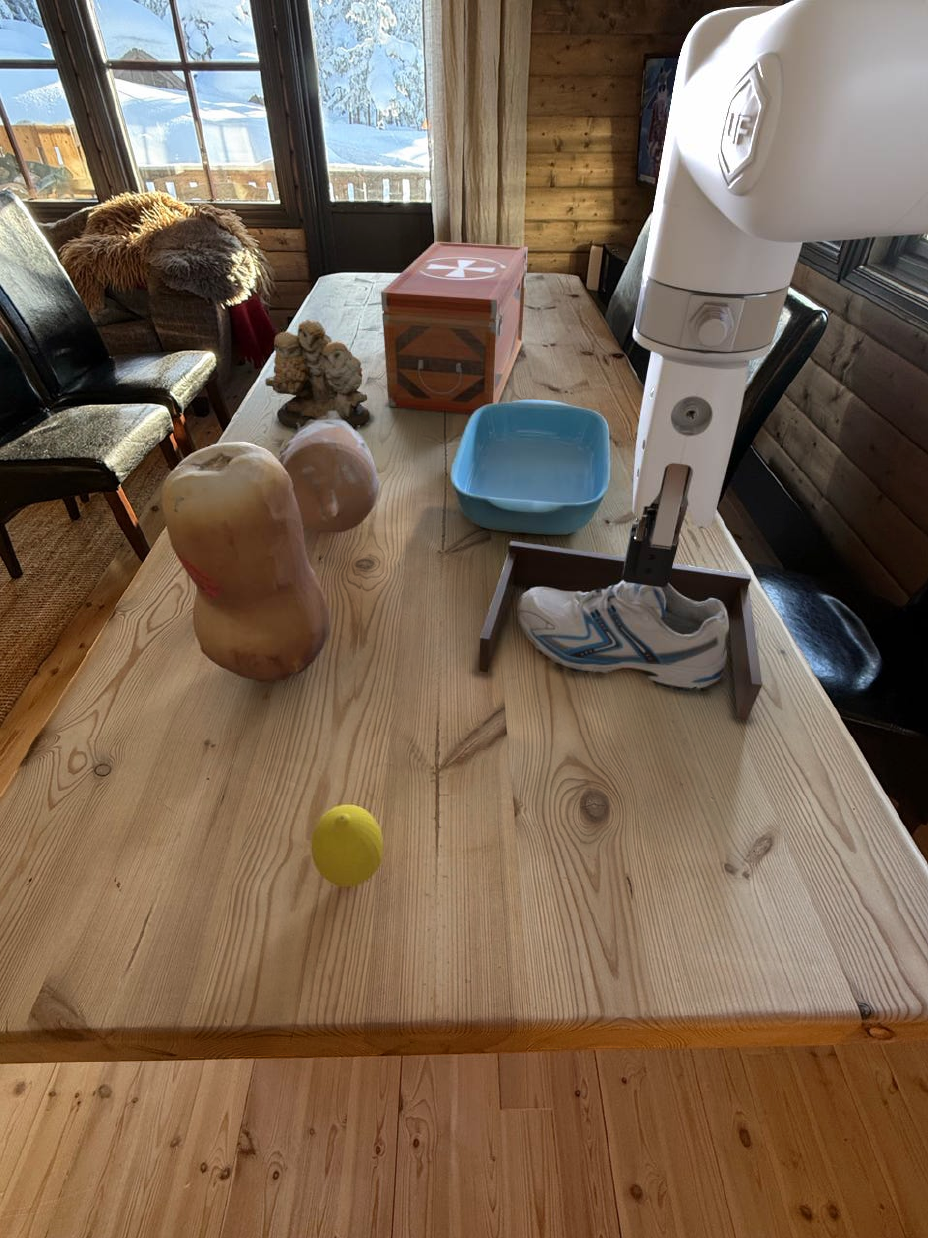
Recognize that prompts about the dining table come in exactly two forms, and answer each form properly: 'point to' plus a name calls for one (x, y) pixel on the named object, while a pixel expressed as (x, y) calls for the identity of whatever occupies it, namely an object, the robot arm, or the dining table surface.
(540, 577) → the shoe rack
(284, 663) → the butternut squash
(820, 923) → the dining table surface
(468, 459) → the casserole dish
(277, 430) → the dining table surface
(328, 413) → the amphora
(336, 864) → the lemon
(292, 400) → the owl figurine
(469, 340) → the wooden box
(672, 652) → the athletic shoe
